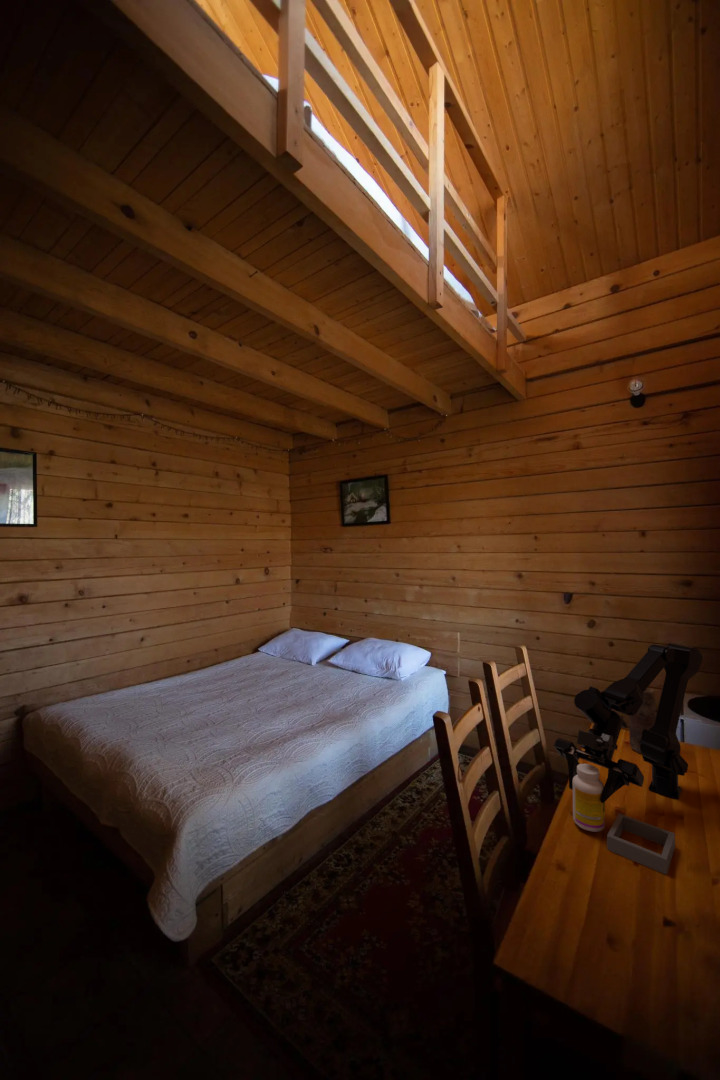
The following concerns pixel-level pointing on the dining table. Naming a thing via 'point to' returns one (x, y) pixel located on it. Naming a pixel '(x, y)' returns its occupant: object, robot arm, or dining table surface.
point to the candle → (642, 719)
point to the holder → (637, 852)
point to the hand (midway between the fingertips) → (585, 795)
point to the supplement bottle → (588, 799)
